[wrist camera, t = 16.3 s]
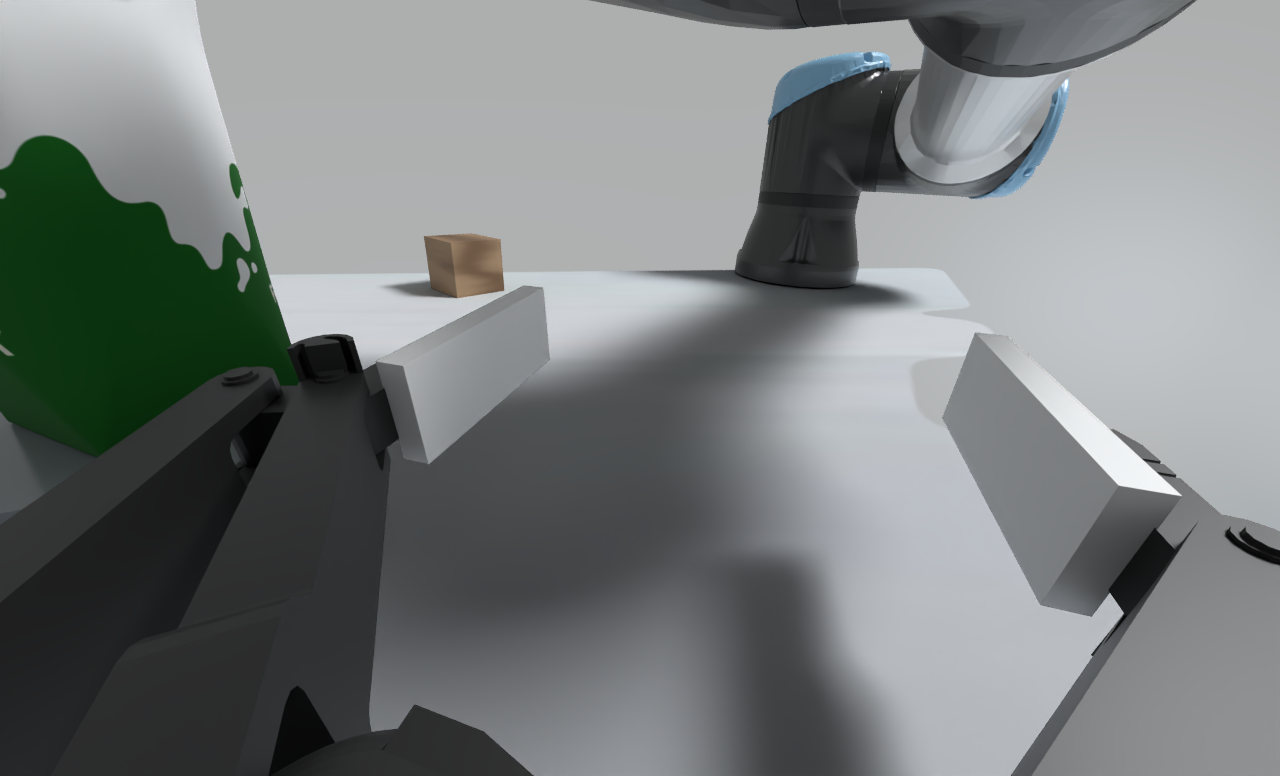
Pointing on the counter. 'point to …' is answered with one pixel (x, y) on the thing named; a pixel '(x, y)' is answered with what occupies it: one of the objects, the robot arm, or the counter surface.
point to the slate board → (36, 466)
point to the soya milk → (120, 222)
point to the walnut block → (464, 264)
